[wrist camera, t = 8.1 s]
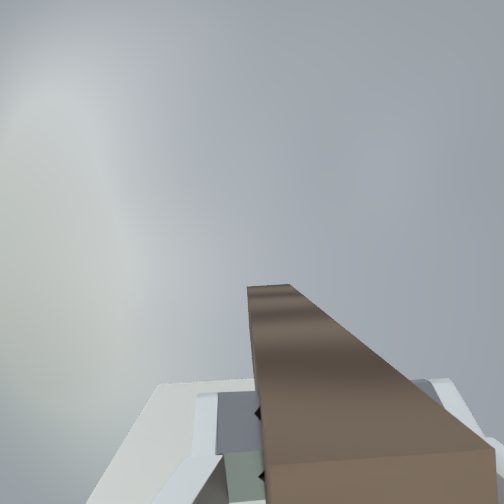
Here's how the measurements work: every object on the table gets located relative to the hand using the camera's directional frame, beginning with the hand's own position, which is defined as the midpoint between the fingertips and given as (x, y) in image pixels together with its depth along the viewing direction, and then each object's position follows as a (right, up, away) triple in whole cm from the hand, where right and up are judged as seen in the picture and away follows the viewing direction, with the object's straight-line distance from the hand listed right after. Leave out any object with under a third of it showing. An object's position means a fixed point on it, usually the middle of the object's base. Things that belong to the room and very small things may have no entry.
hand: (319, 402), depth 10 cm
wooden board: (0, -2, +7) cm, 7 cm away
